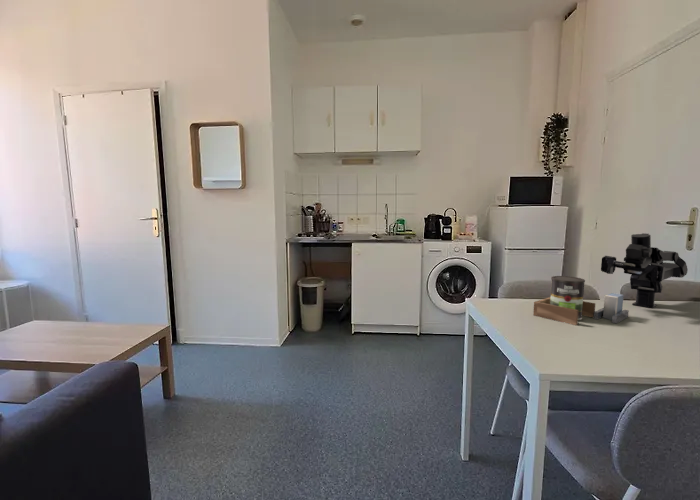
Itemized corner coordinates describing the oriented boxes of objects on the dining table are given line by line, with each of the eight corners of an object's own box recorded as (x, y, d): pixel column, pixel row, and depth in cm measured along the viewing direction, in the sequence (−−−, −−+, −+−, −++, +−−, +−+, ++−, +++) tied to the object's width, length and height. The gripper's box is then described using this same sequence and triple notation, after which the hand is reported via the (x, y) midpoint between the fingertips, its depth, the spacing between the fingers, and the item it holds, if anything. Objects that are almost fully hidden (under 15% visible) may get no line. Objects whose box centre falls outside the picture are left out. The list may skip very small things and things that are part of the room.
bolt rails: (606, 312, 133) (606, 306, 132) (628, 317, 127) (628, 310, 127) (593, 318, 126) (593, 311, 125) (615, 323, 120) (616, 316, 120)
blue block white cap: (610, 314, 131) (611, 292, 130) (621, 316, 128) (623, 294, 127) (602, 317, 127) (604, 295, 126) (614, 320, 124) (616, 297, 123)
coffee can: (583, 322, 122) (586, 282, 120) (549, 318, 126) (551, 279, 125) (580, 314, 131) (583, 277, 129) (548, 311, 135) (550, 274, 134)
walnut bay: (553, 308, 139) (553, 295, 139) (594, 316, 128) (595, 303, 127) (533, 315, 130) (534, 302, 130) (575, 325, 119) (576, 310, 118)
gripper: (611, 239, 141) (594, 249, 133) (673, 246, 126) (658, 258, 118) (609, 265, 144) (592, 277, 136) (668, 275, 129) (654, 289, 121)
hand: (622, 275), depth 128 cm, fingers open, 9 cm apart
